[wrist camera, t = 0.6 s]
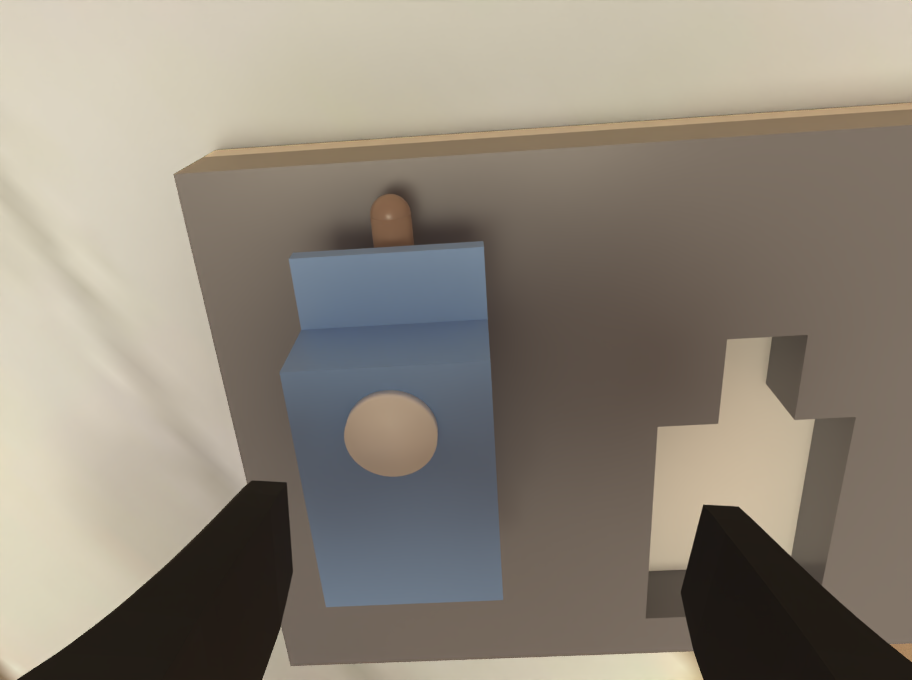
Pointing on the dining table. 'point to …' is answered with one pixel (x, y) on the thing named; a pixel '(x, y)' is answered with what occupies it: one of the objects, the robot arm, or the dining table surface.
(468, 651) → the grey flat block
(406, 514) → the servo
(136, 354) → the dining table surface
